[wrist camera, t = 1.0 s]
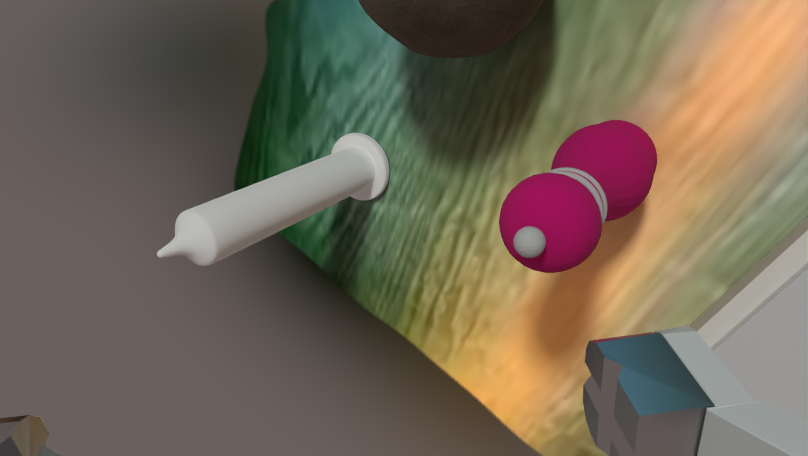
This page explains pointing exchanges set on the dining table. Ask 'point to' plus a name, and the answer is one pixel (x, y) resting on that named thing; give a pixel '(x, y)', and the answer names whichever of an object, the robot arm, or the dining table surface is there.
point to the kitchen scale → (767, 326)
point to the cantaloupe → (452, 24)
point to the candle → (280, 201)
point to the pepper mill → (578, 196)
